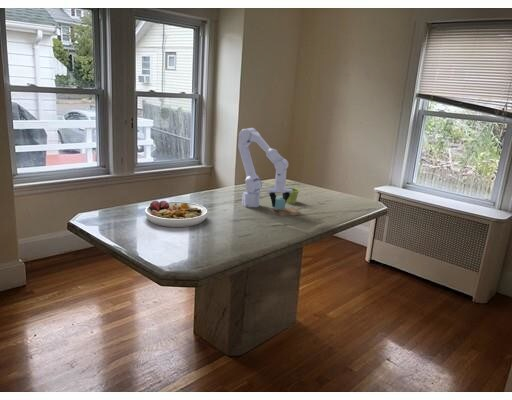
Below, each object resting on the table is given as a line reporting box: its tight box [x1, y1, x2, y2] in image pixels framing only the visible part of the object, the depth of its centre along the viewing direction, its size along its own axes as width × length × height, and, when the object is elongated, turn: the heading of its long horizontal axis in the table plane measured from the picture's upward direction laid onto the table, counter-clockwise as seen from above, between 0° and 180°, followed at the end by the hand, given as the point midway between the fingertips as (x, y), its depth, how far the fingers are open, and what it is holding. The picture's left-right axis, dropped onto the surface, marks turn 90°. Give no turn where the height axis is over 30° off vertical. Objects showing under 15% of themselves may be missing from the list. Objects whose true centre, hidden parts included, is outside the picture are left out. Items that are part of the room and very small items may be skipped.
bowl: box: [144, 200, 208, 228], centre depth 209 cm, size 30×30×8 cm
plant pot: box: [285, 187, 300, 205], centre depth 250 cm, size 9×9×9 cm
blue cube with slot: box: [271, 196, 286, 209], centre depth 231 cm, size 5×5×5 cm
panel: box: [268, 206, 303, 216], centre depth 231 cm, size 15×13×1 cm
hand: (278, 205), depth 231 cm, fingers closed on blue cube with slot, 5 cm apart
